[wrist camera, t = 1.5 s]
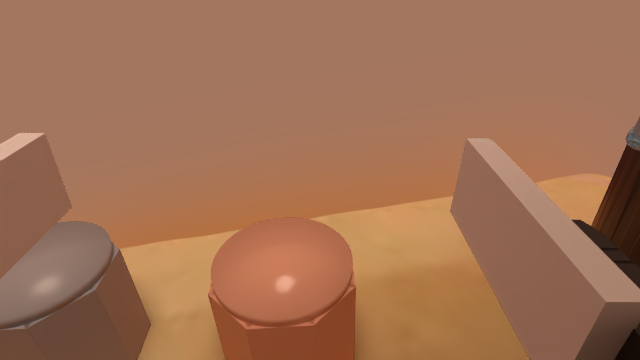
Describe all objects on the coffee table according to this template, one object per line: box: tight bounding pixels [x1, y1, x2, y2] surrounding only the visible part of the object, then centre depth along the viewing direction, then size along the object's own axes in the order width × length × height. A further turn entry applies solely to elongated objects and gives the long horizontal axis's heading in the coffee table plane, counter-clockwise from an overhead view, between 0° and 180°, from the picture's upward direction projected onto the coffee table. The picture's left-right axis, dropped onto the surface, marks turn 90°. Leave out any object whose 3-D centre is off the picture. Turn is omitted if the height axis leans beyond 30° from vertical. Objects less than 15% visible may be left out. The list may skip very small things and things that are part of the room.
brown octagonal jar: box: [0, 221, 151, 360], centre depth 30 cm, size 10×10×10 cm
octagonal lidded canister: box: [208, 217, 356, 360], centre depth 30 cm, size 10×10×10 cm
